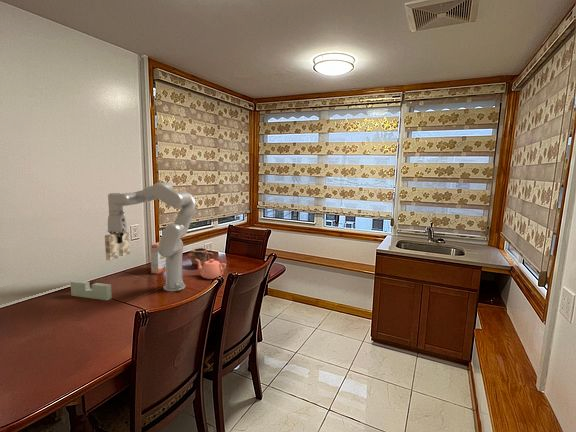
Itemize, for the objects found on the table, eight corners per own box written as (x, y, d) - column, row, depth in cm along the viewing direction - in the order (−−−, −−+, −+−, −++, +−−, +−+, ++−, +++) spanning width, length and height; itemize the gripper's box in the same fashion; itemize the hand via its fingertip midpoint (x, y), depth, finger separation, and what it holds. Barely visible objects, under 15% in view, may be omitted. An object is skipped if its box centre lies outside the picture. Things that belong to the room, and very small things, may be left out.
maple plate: (125, 253, 196) (124, 230, 194) (129, 253, 196) (128, 231, 194) (106, 260, 181) (104, 235, 179) (110, 260, 180) (109, 235, 178)
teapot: (190, 278, 203) (190, 261, 202) (200, 272, 218) (200, 255, 216) (222, 281, 200) (222, 263, 199) (229, 274, 215) (229, 257, 213)
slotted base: (111, 298, 169) (110, 284, 168) (107, 300, 166) (106, 286, 165) (76, 293, 174) (75, 280, 173) (71, 295, 171) (70, 281, 170)
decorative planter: (215, 265, 235) (215, 247, 233) (212, 270, 223) (212, 251, 221) (189, 264, 234) (189, 247, 232) (185, 269, 222) (184, 251, 220)
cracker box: (158, 274, 210) (157, 245, 208) (150, 273, 212) (150, 244, 209) (170, 268, 224) (169, 240, 221) (163, 267, 225) (162, 240, 222)
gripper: (132, 213, 187) (133, 242, 189) (109, 211, 190) (111, 240, 193) (123, 214, 179) (124, 244, 182) (99, 213, 183) (101, 243, 185)
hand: (117, 242), depth 187 cm, fingers closed on maple plate, 3 cm apart
